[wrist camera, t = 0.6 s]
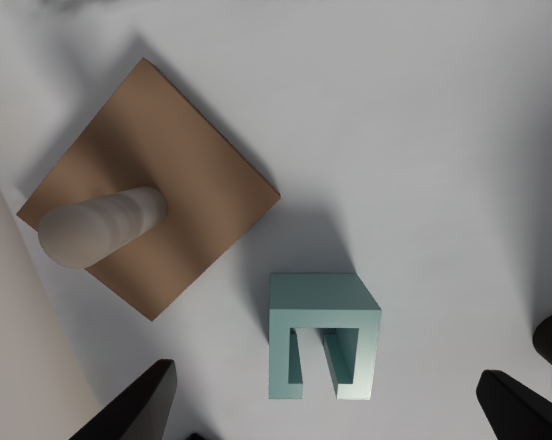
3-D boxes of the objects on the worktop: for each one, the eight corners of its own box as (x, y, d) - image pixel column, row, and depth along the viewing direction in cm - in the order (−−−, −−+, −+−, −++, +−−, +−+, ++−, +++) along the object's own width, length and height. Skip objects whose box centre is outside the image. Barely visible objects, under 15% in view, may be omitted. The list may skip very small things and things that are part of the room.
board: (159, 310, 22) (90, 407, 13) (35, 210, 19) (-141, 251, 11) (280, 194, 19) (285, 225, 11) (154, 65, 17) (43, -17, 9)
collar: (349, 346, 23) (370, 399, 18) (269, 346, 23) (268, 399, 18) (356, 274, 21) (381, 310, 16) (270, 273, 21) (269, 309, 16)
